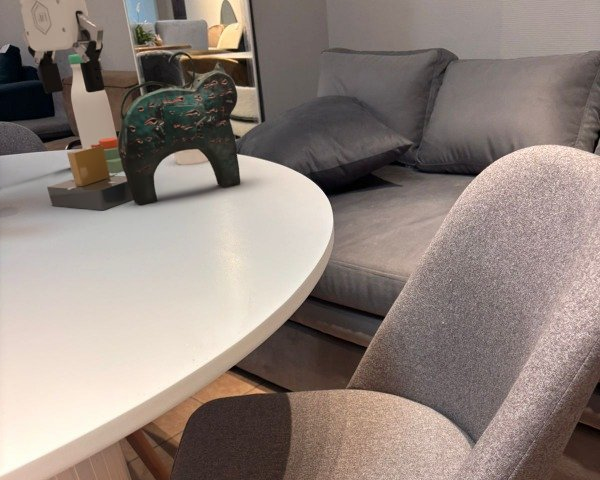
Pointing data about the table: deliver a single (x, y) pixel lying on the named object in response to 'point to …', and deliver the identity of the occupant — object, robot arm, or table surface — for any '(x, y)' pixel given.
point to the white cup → (190, 157)
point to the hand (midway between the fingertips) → (74, 91)
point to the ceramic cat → (179, 129)
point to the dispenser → (113, 160)
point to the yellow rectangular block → (88, 165)
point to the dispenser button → (109, 143)
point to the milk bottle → (90, 109)
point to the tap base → (91, 193)
